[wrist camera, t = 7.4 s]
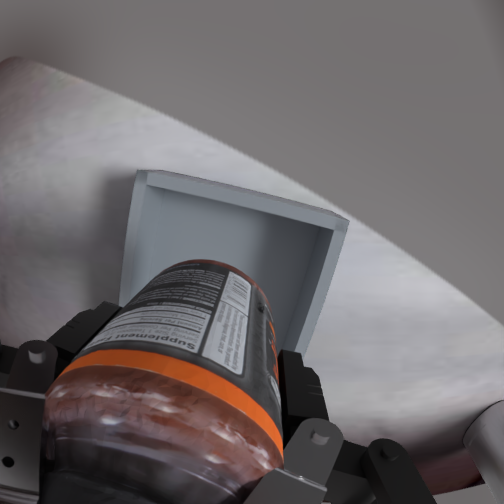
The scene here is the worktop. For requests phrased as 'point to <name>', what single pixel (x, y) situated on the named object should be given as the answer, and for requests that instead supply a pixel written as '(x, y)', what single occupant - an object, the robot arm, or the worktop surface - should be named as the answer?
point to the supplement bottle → (170, 397)
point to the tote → (235, 244)
